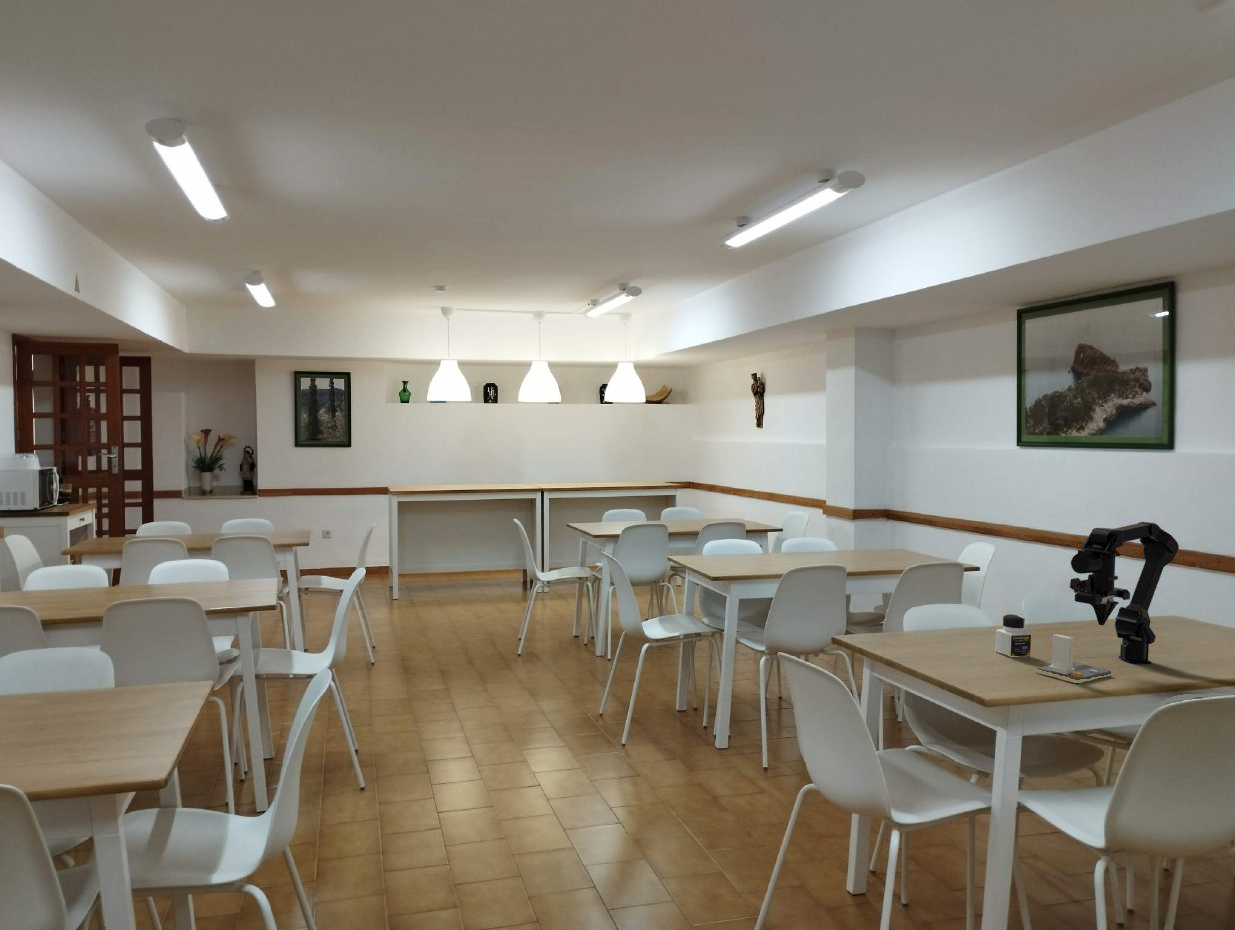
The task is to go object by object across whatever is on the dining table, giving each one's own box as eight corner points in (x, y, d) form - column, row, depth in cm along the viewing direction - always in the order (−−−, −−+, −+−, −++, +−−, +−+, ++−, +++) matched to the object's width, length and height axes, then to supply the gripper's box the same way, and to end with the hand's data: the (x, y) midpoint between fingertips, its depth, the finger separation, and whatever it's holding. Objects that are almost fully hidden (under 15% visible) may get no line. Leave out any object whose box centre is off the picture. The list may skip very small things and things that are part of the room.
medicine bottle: (1010, 658, 267) (1012, 618, 266) (994, 652, 273) (996, 613, 273) (1030, 657, 268) (1032, 617, 268) (1014, 651, 275) (1015, 612, 275)
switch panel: (1069, 665, 259) (1070, 658, 259) (1110, 676, 249) (1111, 668, 249) (1036, 673, 251) (1036, 665, 250) (1077, 684, 240) (1077, 675, 240)
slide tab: (1057, 668, 250) (1058, 633, 249) (1074, 672, 245) (1076, 637, 245) (1048, 670, 248) (1049, 635, 247) (1066, 674, 243) (1067, 639, 243)
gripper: (1094, 565, 270) (1092, 616, 270) (1058, 570, 260) (1056, 622, 261) (1132, 571, 260) (1129, 623, 261) (1095, 575, 251) (1093, 630, 251)
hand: (1101, 625), depth 259 cm, fingers closed
